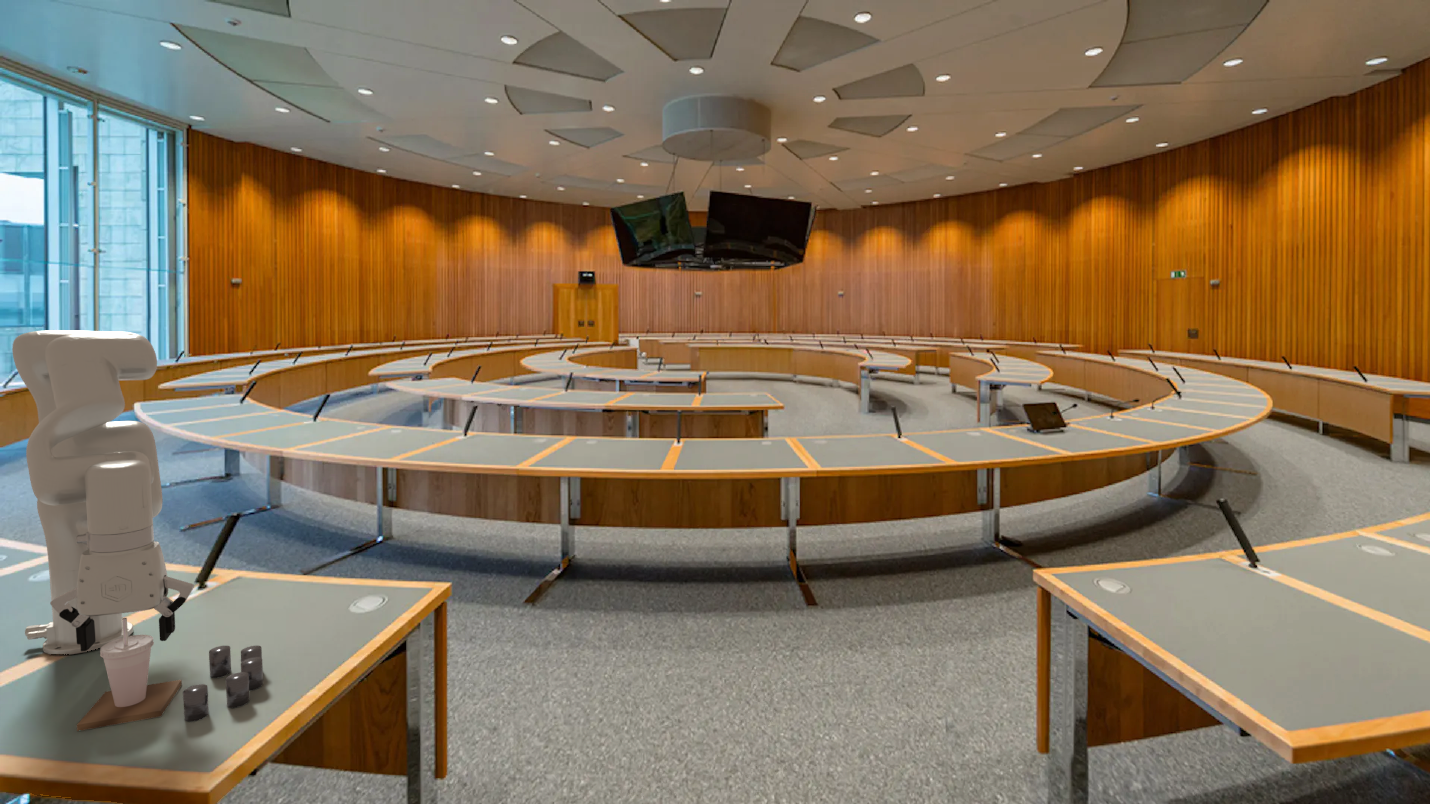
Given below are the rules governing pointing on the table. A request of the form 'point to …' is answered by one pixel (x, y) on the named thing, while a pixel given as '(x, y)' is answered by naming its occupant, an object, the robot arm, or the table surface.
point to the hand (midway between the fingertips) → (127, 642)
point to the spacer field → (235, 683)
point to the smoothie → (127, 666)
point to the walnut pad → (130, 707)
